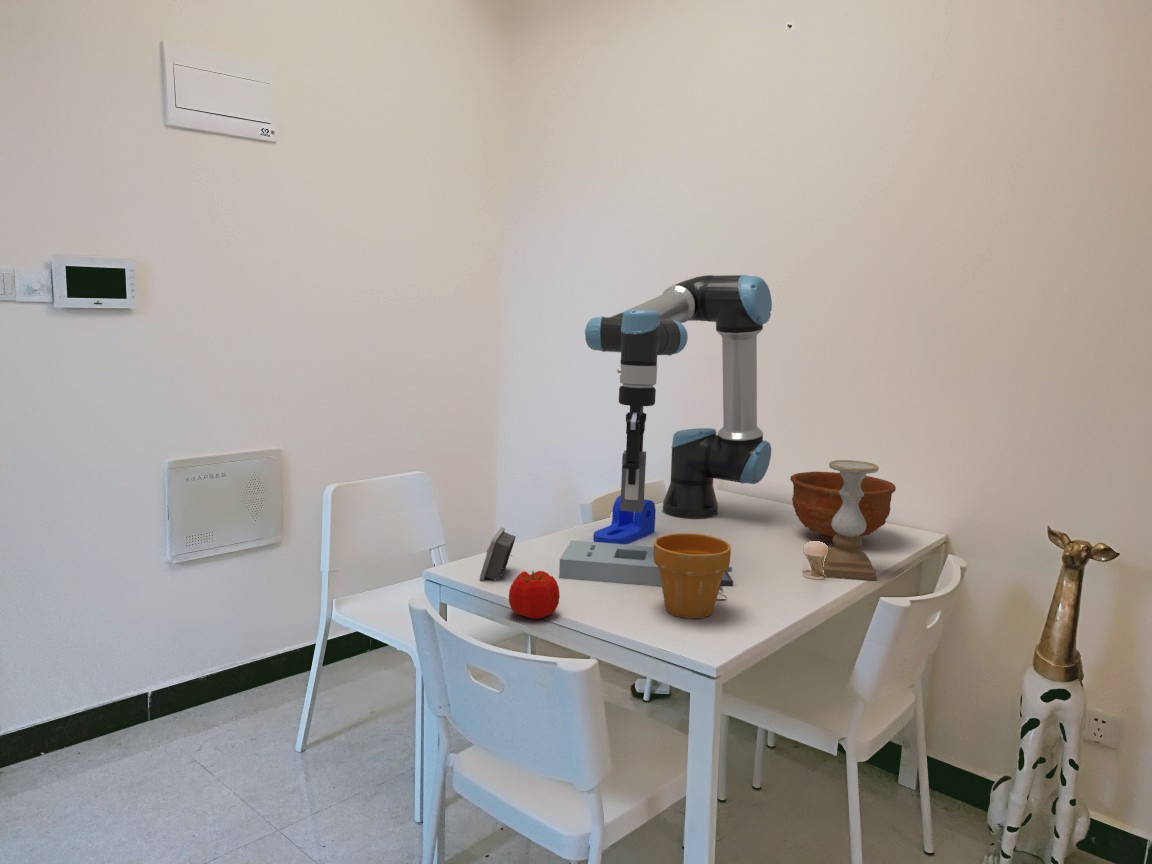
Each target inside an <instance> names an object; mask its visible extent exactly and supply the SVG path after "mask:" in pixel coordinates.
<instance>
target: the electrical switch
mask: <svg viewBox="0 0 1152 864" xmlns="http://www.w3.org/2000/svg"><path fill="white" fill-rule="evenodd" d="M516 538H517V536H516V535H512V534H511V533H508V532H506V528H505V527H500V528H499V530H497V532H495V534H494V536H493V537H492V538H491V540H490V544H489V546H488V547H487V549H486V556H485V558H484V562H483V564H482V569H481V572H480V576H479V579H480V580H481V581H484V580H485V579H486V578H487V579H490V580H494V581H499V580H500V578H501V576H502V575H503V574H504V572H505V571H506V568H507V565H508V562H509V559H510V557H511V553H512V551H513V547H514V543H515V541H516Z"/></svg>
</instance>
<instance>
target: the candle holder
mask: <svg viewBox="0 0 1152 864" xmlns="http://www.w3.org/2000/svg"><path fill="white" fill-rule="evenodd" d="M828 466H829V468H830V469H832V470H834V471H837V472H838V471H839V473H840V475H841V476H842V478H843V480H844V485H843V487H842V489H841V490H840V491H839V494H840V495H841V498H842V501H843V503H842V506H841V508H840V509H839V510H838V512H837V513H836V514H835V515H834V517H833V519H832V522H831V525H832V528H833V529H834V531H835V532H837V534H836V535H835V536H834V537H833V542H832V543H833V544H834V546H833V547H830V548H827V549H828V553H827V556H826V558H825V561H824V567H823V570H824V574H825V575H826V576H827V577H826V578H829V577H835V578H834V579H841V578H845V579H844V580H855V579H861V580H860V581H873V582H874V581H876V575H877V574H876V573H877V572H876V570H875V568H874V567H873V565H872V562H871V560H870V558H869V556H867V554H866V553H865V552H864V551H862V550H861V549H860V547H861V546H863V540H862V538H861V537H859V535H860V534H862V533H864V531H865V530H866V521H865V519H864V517H863V515H862V513H861V511H860V509H859V501H860V500H861V497H863V496H864V493H863V492H862V490H861V482H862V480H863V479H864V478H865V477H866V476H867V474H875V473H878V471H879V467H880V466H879V465H877V464H874V463H871V462H867V461H863V460H862V461H861V460H854V459H853V460H849V459H837V460H831V461H830V462H829V463H828Z"/></svg>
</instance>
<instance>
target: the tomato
mask: <svg viewBox="0 0 1152 864" xmlns="http://www.w3.org/2000/svg"><path fill="white" fill-rule="evenodd" d="M560 598H561V597H560V587H559V584H558V582H557V580H556V579H555V577H554V576H552V575H550V574H549V573H548V572H546V571H543V570H538V571H535V572H534V570H532V572H531V573H530V574H529V573H528V572H527V571H526V570H524V571H523V570H522V571H521V572H520V573H518V575H517V576H516V578H514V580H513V582H512V583H511V585H510V587H509V591H508V603H509V606H510V609H511V610H512V611H513V612H514V613H515V614H517V615H519V616H521V617H522V616H523V617H526V618H529V619H533V620H537V619H543V618H545V617H547V616H551V615H552V614H553V613H555V611H556V610H557V608H558V605H559V603H560Z"/></svg>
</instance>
